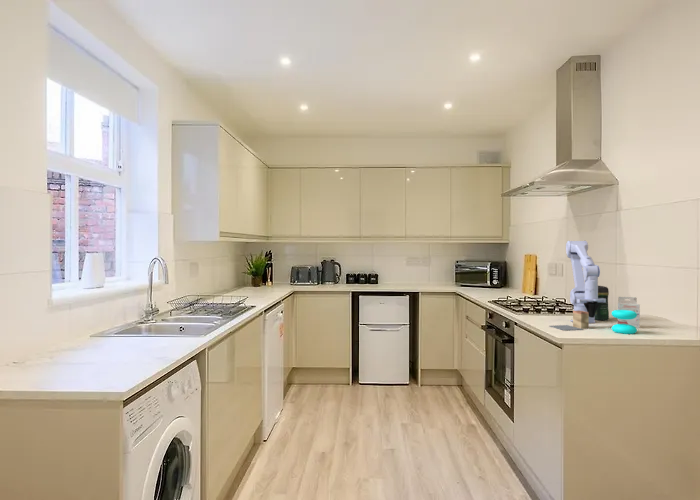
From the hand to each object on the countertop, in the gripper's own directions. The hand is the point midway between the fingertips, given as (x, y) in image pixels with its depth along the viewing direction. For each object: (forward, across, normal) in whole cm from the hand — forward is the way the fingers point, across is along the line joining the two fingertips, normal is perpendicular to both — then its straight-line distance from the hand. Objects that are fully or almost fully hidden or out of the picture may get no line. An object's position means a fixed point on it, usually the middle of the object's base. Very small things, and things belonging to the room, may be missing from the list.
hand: (591, 317), depth 217 cm
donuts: (+5, +5, -15) cm, 17 cm away
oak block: (+5, -6, 0) cm, 8 cm away
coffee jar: (+5, +21, +21) cm, 30 cm away
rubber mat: (+5, -14, 0) cm, 15 cm away
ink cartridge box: (+5, +18, -3) cm, 19 cm away
